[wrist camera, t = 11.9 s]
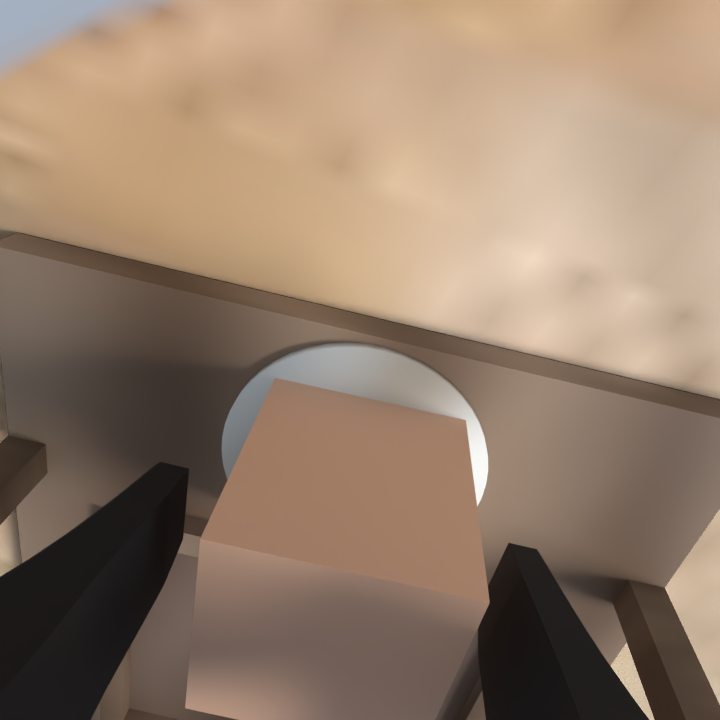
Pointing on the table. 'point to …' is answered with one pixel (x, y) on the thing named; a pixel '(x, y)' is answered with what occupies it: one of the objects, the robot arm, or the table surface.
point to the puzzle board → (360, 378)
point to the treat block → (338, 564)
